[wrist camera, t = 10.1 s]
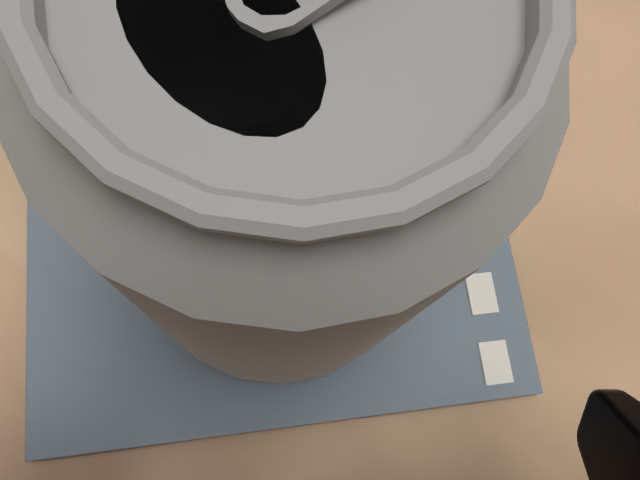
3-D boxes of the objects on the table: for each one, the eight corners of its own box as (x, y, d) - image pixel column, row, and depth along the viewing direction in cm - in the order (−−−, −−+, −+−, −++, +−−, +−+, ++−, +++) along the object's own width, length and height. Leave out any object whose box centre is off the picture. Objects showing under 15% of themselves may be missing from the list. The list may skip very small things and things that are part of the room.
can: (95, 229, 17) (-240, -143, 6) (301, 94, 19) (348, -392, 8) (251, 445, 16) (206, 498, 5) (457, 278, 18) (793, 17, 6)
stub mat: (31, 460, 16) (24, 462, 15) (33, 119, 19) (27, 111, 18) (536, 394, 17) (544, 393, 17) (469, 87, 20) (474, 79, 20)
